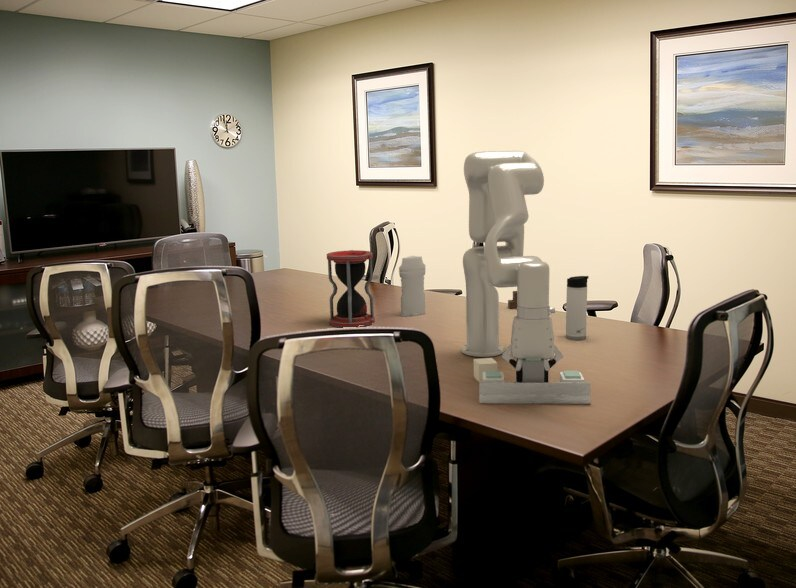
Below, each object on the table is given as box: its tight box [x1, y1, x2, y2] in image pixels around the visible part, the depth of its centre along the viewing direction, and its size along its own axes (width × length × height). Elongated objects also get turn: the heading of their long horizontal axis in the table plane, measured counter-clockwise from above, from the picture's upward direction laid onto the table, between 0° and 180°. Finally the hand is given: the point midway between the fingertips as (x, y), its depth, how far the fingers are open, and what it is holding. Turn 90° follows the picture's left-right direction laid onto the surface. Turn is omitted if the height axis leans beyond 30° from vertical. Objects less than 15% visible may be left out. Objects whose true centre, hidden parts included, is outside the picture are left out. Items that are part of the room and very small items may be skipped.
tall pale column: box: [398, 255, 426, 318], centre depth 267 cm, size 11×4×22 cm, turn 114°
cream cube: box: [473, 357, 498, 383], centre depth 192 cm, size 5×5×5 cm
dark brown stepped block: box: [507, 290, 517, 310], centre depth 277 cm, size 15×15×7 cm
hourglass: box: [326, 249, 376, 328], centre depth 257 cm, size 16×16×25 cm
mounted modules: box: [483, 370, 585, 382], centre depth 179 cm, size 6×24×6 cm, turn 85°
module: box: [521, 358, 544, 382], centre depth 178 cm, size 7×5×8 cm
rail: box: [478, 381, 591, 405], centre depth 174 cm, size 2×26×5 cm, turn 85°
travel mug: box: [565, 275, 589, 341], centre depth 229 cm, size 6×7×20 cm
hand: (532, 384), depth 179 cm, fingers closed on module, 4 cm apart
